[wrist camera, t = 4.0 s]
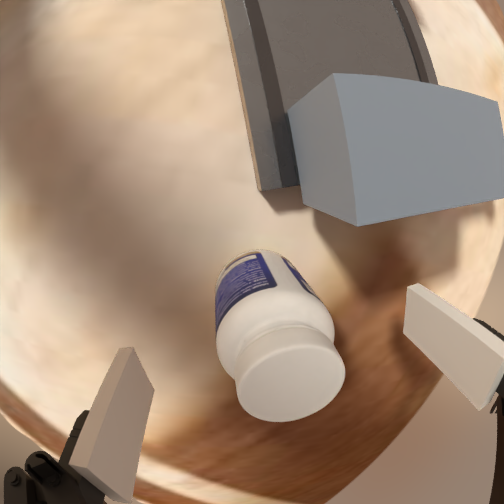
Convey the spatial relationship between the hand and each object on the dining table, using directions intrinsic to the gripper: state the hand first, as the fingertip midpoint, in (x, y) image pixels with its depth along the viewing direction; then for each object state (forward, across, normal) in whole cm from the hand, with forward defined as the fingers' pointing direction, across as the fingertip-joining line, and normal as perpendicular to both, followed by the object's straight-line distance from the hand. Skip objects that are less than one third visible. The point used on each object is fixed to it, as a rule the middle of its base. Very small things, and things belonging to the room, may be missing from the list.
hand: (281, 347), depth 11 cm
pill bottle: (+6, 0, 0) cm, 6 cm away
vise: (+6, +8, +18) cm, 21 cm away
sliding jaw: (+4, +12, +8) cm, 15 cm away
